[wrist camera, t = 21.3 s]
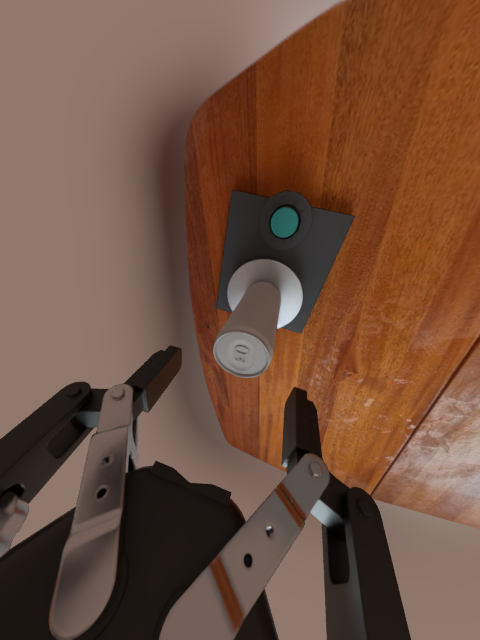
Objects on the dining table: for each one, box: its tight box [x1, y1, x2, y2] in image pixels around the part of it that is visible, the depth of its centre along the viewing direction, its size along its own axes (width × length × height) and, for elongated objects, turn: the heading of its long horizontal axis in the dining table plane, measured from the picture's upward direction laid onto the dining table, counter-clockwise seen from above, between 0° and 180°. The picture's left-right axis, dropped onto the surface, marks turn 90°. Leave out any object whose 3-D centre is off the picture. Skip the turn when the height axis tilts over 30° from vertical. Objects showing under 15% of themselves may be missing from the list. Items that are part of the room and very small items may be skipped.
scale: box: [216, 190, 355, 333], centre depth 24 cm, size 17×14×3 cm
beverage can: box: [213, 282, 281, 378], centre depth 19 cm, size 5×5×12 cm
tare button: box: [271, 207, 298, 237], centre depth 20 cm, size 3×3×2 cm
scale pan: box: [227, 258, 303, 328], centre depth 25 cm, size 10×10×1 cm
